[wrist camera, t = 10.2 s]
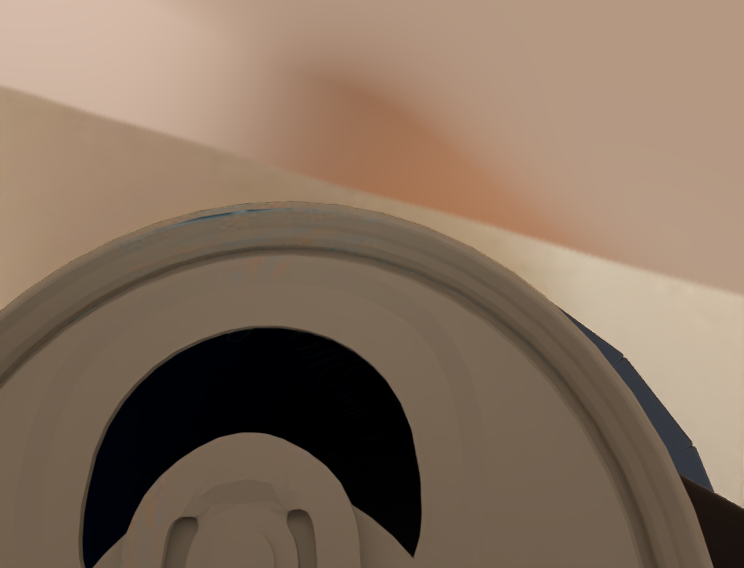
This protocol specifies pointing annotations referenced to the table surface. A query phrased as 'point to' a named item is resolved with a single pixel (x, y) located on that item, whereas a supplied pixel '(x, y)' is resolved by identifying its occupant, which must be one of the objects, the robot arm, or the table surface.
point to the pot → (654, 412)
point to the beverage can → (319, 409)
